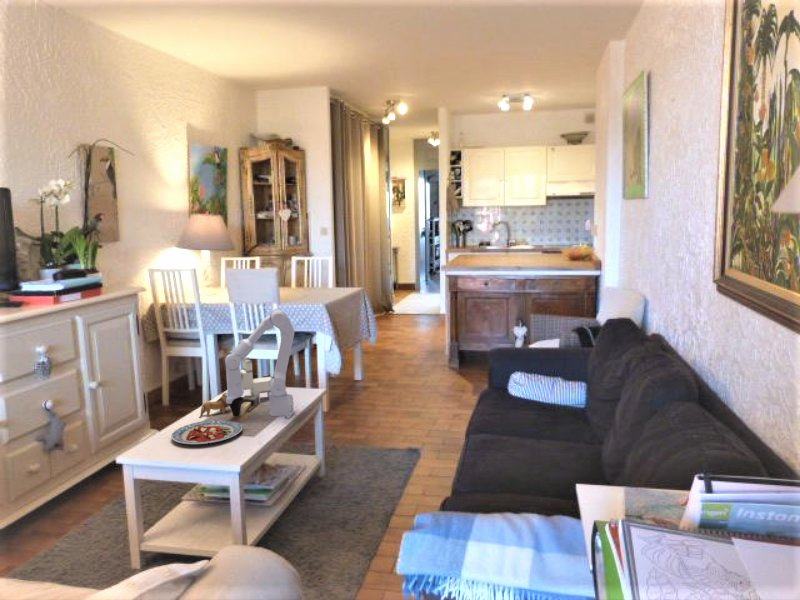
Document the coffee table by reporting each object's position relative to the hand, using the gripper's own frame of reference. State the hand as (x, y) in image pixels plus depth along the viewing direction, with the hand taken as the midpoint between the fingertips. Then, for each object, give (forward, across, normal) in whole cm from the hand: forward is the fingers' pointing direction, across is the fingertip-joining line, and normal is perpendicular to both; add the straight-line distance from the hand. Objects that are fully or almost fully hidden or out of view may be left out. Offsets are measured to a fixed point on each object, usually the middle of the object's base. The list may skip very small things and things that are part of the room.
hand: (236, 415), depth 253 cm
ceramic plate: (+2, +19, -5) cm, 19 cm away
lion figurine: (+2, -6, -11) cm, 12 cm away
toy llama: (+2, -25, +2) cm, 25 cm away
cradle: (+2, -8, 0) cm, 8 cm away
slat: (+1, -8, 0) cm, 8 cm away
